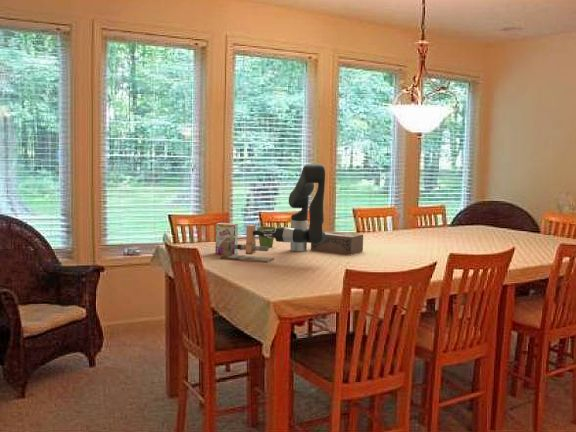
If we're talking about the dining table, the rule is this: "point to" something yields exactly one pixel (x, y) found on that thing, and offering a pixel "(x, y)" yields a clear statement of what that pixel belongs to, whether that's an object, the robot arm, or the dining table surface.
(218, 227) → the candy bar box
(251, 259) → the pipe stand
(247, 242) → the tan wooden block
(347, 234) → the tissue box cover
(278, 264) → the dining table surface
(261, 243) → the plant pot
